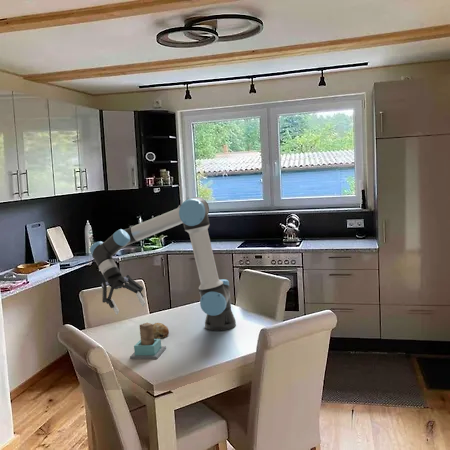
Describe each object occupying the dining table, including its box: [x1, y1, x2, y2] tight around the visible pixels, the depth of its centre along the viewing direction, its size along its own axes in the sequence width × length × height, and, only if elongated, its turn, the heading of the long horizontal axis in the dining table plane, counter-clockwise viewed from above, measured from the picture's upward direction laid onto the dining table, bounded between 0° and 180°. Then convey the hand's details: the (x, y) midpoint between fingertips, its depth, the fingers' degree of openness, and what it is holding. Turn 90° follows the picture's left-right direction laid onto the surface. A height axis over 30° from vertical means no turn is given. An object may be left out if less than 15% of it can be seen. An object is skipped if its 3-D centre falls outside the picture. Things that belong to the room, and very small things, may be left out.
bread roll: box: [152, 322, 170, 339], centre depth 247 cm, size 10×10×8 cm
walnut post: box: [139, 322, 154, 345], centre depth 223 cm, size 4×4×12 cm
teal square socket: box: [129, 338, 167, 360], centre depth 223 cm, size 12×12×5 cm
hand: (131, 308), depth 230 cm, fingers open, 13 cm apart
